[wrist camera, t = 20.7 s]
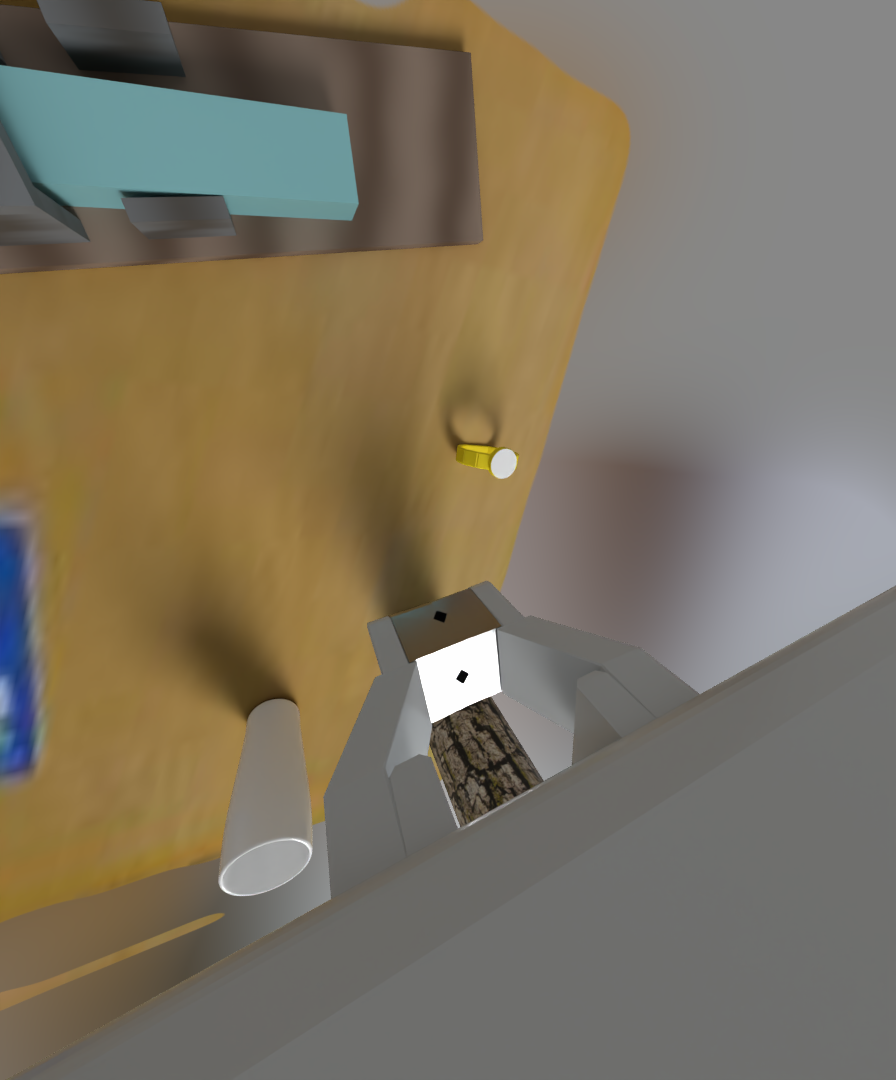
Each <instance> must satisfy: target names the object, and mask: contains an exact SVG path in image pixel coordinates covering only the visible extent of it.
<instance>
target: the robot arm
mask: <svg viewBox="0 0 896 1080" xmlns="http://www.w3.org/2000/svg"><path fill="white" fill-rule="evenodd" d="M367 628H368V631H369V634H370V637H371V641H372V644H373V647H374V651H375V654H376V657H377V660H378V664H379V667H380V670H381V673H382V675H380V676H377V677H375V679H374V681H373V683H372V686H371V688H370V690H369V693H368V695H367V697H366V700H365V702H364V704H363V707H362V709H361V711H360V713H359V716H358V718H357V720H356V723H355V725H354V727H353V730H352V732H351V734H350V737H349V739H348V741H347V744H346V746H345V748H344V751H343V753H342V755H341V758H340V760H339V762H338V764H337V767H336V769H335V771H334V774H333V776H332V778H331V781H330V783H329V785H328V788H327V790H326V792H325V795H324V809H325V822H326V836H327V849H328V862H329V875H330V890H331V900H329V901H327V902H325V903H323V904H322V905H320V906H318V907H316V908H314V909H313V910H311V911H309V912H307V913H305V914H304V915H302V916H300V917H298V918H296V919H295V920H293V921H291V922H290V923H287V924H286V925H284V926H282V927H280V928H278V929H277V930H275V931H274V932H271V933H270V934H268V935H266V936H264V937H262V938H260V939H259V940H257V941H255V942H253V943H251V944H250V945H248V946H246V947H244V948H242V949H241V950H239V951H237V952H235V953H234V954H232V955H230V956H228V957H226V958H224V959H223V960H221V961H219V962H217V963H215V964H214V965H212V966H210V967H208V968H206V969H205V970H203V971H201V972H199V973H197V974H196V975H194V976H192V977H190V978H189V979H187V980H185V981H183V982H181V983H179V984H178V985H176V986H174V987H172V988H171V989H169V990H167V991H165V992H163V993H162V994H160V995H158V996H156V997H154V998H153V999H151V1000H149V1001H147V1002H145V1003H143V1004H142V1005H140V1006H138V1007H136V1008H134V1009H133V1010H131V1011H129V1012H127V1013H125V1014H124V1015H122V1016H120V1017H118V1018H116V1019H115V1020H113V1021H111V1022H109V1023H108V1024H106V1025H104V1026H102V1027H100V1028H98V1029H97V1030H95V1031H93V1032H91V1033H89V1034H88V1035H86V1036H84V1037H82V1038H80V1039H79V1040H77V1041H75V1042H73V1043H71V1044H70V1045H68V1046H66V1047H64V1048H62V1049H61V1050H59V1051H57V1052H55V1053H53V1054H52V1055H50V1056H48V1057H46V1058H44V1059H43V1060H41V1061H39V1062H37V1063H35V1064H34V1065H32V1066H30V1067H28V1068H26V1069H25V1070H23V1071H21V1072H19V1073H17V1074H16V1075H14V1076H12V1077H10V1078H8V1079H7V1080H896V586H894V587H892V588H890V589H889V590H887V591H885V592H883V593H882V594H880V595H878V596H876V597H874V598H873V599H871V600H869V601H867V602H865V603H864V604H862V605H860V606H858V607H856V608H855V609H853V610H851V611H850V612H847V613H846V614H844V615H842V616H840V617H838V618H837V619H835V620H833V621H831V622H829V623H828V624H826V625H824V626H822V627H820V628H819V629H817V630H815V631H813V632H811V633H810V634H808V635H806V636H804V637H803V638H801V639H799V640H797V641H795V642H793V643H792V644H790V645H788V646H786V647H785V648H783V649H781V650H779V651H777V652H775V653H774V654H772V655H770V656H768V657H766V658H765V659H763V660H761V661H759V662H757V663H756V664H754V665H752V666H750V667H748V668H747V669H745V670H743V671H741V672H739V673H738V674H736V675H734V676H732V677H731V678H729V679H727V680H725V681H724V682H721V683H720V684H718V685H716V686H714V687H712V688H711V689H709V690H707V691H705V692H703V693H702V694H699V693H698V692H696V691H695V690H694V689H693V688H691V687H690V686H689V685H687V684H686V683H685V682H684V681H682V680H681V679H680V678H678V677H677V676H676V675H675V674H673V673H672V672H671V671H670V670H668V669H667V668H666V667H664V666H663V665H662V664H660V663H659V662H658V661H657V660H655V659H654V658H653V657H652V656H650V655H649V654H648V653H647V652H645V651H644V650H643V649H641V648H640V647H637V646H633V645H630V644H626V643H623V642H619V641H616V640H612V639H609V638H605V637H603V636H599V635H596V634H592V633H589V632H585V631H582V630H578V629H575V628H571V627H568V626H565V625H561V624H557V623H554V622H551V621H547V620H544V619H541V618H537V617H534V616H528V617H524V616H523V615H522V614H521V613H520V612H519V611H518V610H517V609H516V608H515V607H514V606H513V605H512V604H511V603H510V602H509V601H508V600H507V599H506V598H505V597H504V596H503V595H502V594H501V593H500V592H499V591H498V590H497V589H496V588H495V587H494V586H493V585H492V584H491V583H490V582H489V581H484V582H482V583H479V584H476V585H474V586H471V587H469V588H468V589H465V590H462V591H460V592H457V593H454V594H451V595H449V596H446V597H443V598H440V599H437V600H435V601H432V602H428V603H425V604H422V605H419V606H416V607H413V608H410V609H407V610H404V611H401V612H398V613H395V614H392V615H389V616H386V617H383V618H380V619H377V620H375V621H372V622H369V623H367ZM501 691H502V693H503V694H505V695H507V696H508V697H510V698H512V699H514V700H516V701H517V702H519V703H521V704H522V705H524V706H526V707H527V708H529V709H531V710H533V711H535V712H536V713H538V714H540V715H541V716H543V717H545V718H547V719H549V720H550V721H552V722H554V723H555V724H557V725H559V726H561V727H562V728H564V729H566V730H568V731H569V732H571V733H573V734H574V739H573V754H572V766H570V767H568V768H566V769H564V770H563V771H561V772H559V773H557V774H556V775H554V776H552V777H550V778H548V779H547V780H545V781H543V782H541V783H539V784H538V785H536V786H534V787H532V788H530V789H529V790H527V791H525V792H523V793H521V794H520V795H518V796H516V797H514V798H512V799H511V800H509V801H507V802H505V803H503V804H502V805H500V806H498V807H496V808H494V809H493V810H491V811H489V812H487V813H485V814H484V815H482V816H480V817H478V818H476V819H475V820H473V821H471V822H469V823H467V824H466V825H464V826H462V827H460V828H457V826H456V823H455V820H454V817H453V815H452V812H451V809H450V807H449V804H448V801H447V799H446V797H445V794H444V791H443V789H442V786H441V783H440V780H439V778H438V775H437V772H436V770H435V767H434V765H433V762H432V759H431V757H428V756H427V755H428V749H429V743H430V737H431V730H432V723H433V722H435V721H437V720H439V719H441V718H443V717H445V716H447V715H449V714H451V713H453V712H455V711H457V710H459V709H461V708H463V707H465V706H468V705H470V704H472V703H475V702H477V701H480V700H482V699H484V698H487V697H489V696H491V695H494V694H496V693H498V692H501Z"/></svg>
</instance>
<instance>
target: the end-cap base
mask: <svg viewBox="0 0 896 1080" xmlns="http://www.w3.org/2000/svg"><path fill="white" fill-rule="evenodd" d="M37 2H38V4H39V7H40V9H39V8H29V7H20V6H10V5H0V65H3V66H10V67H17V68H24V69H31V70H38V71H46V72H53V73H60V74H67V75H74V76H81V77H88V78H95V79H102V80H109V81H116V82H123V83H130V84H137V85H145V86H152V87H159V88H166V89H173V90H180V91H187V92H194V93H201V94H208V95H215V96H222V97H229V98H236V99H243V100H251V101H258V102H265V103H272V104H279V105H286V106H293V107H300V108H307V109H314V110H321V111H328V112H335V113H342V114H347V122H348V129H349V136H350V144H351V151H352V158H353V166H354V173H355V180H356V188H357V195H358V202H359V204H358V207H357V209H356V212H355V214H354V216H353V219H352V221H349V220H330V219H310V218H290V217H271V216H251V215H232V214H230V213H229V211H228V208H227V205H226V203H225V200H224V197H223V196H201V197H142V198H121V200H122V203H123V205H124V207H125V209H114V208H94V207H75V206H60V205H59V204H57V203H56V202H55V201H53V200H52V199H51V198H49V197H48V196H47V195H45V194H44V193H42V192H41V191H40V190H38V189H37V188H36V187H34V186H33V184H32V182H31V180H30V178H29V176H28V174H27V172H26V170H25V168H24V166H23V164H22V162H21V160H20V158H19V156H18V154H17V152H16V150H15V148H14V146H13V144H12V142H11V140H10V138H9V136H8V134H7V132H6V130H5V128H4V126H3V124H2V122H1V120H0V274H5V273H21V272H37V271H53V270H69V269H85V268H101V267H117V266H133V265H149V264H165V263H182V262H198V261H214V260H230V259H246V258H262V257H278V256H294V255H310V254H326V253H342V252H358V251H374V250H390V249H407V248H423V247H439V246H455V245H471V244H478V243H480V242H481V241H483V232H482V217H481V202H480V187H479V172H478V157H477V142H476V127H475V112H474V97H473V82H472V67H471V53H469V52H459V51H449V50H439V49H430V48H420V47H410V46H400V45H391V44H381V43H371V42H361V41H351V40H342V39H332V38H322V37H312V36H303V35H293V34H283V33H273V32H264V31H254V30H244V29H234V28H225V27H215V26H205V25H195V24H186V23H176V22H167V19H166V16H165V13H164V10H163V7H162V4H161V2H153V1H145V0H37Z"/></svg>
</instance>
